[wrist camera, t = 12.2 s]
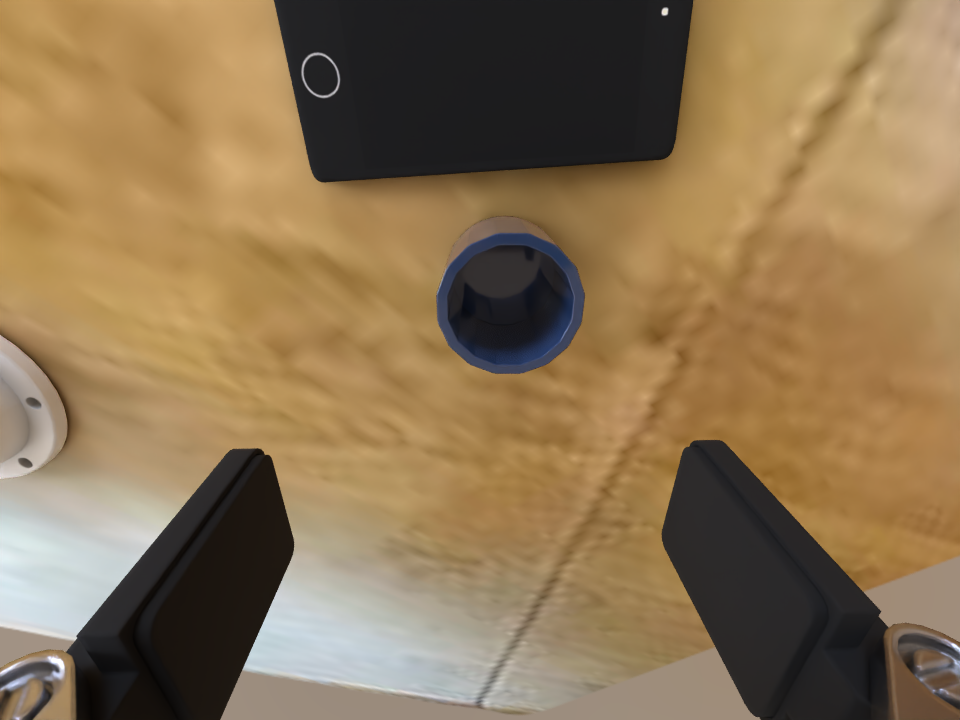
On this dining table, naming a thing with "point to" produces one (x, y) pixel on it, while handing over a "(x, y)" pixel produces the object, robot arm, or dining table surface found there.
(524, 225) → the blue plastic cup
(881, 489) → the dining table surface
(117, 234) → the dining table surface
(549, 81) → the cell phone
